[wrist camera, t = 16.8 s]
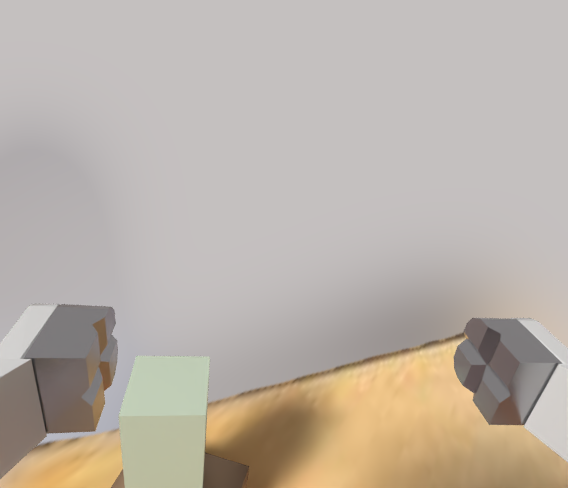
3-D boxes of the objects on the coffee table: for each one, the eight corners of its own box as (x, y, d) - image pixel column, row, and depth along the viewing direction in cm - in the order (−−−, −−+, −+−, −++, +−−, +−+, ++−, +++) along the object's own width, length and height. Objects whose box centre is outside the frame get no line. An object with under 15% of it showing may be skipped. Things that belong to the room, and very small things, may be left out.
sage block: (203, 473, 34) (209, 356, 28) (199, 537, 30) (206, 415, 24) (142, 475, 33) (136, 355, 28) (129, 541, 29) (118, 416, 23)
